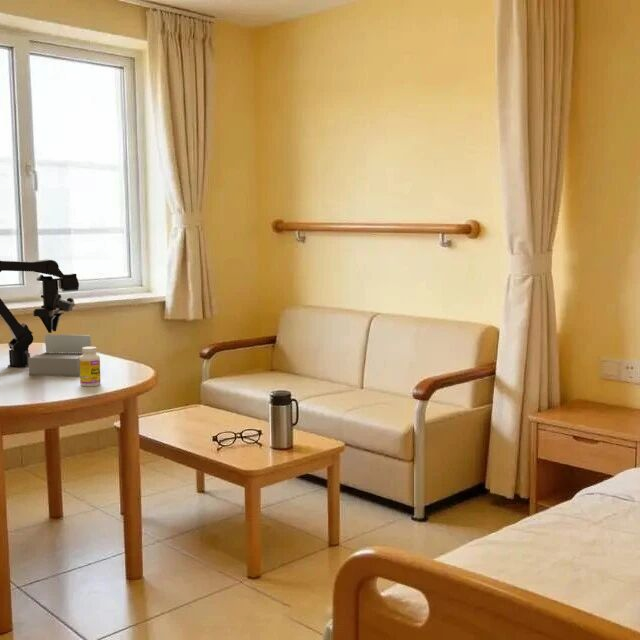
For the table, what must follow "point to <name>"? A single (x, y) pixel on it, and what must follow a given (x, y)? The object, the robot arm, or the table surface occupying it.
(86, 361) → the supplement bottle
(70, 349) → the rear flap
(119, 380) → the table surface
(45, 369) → the cabinet
